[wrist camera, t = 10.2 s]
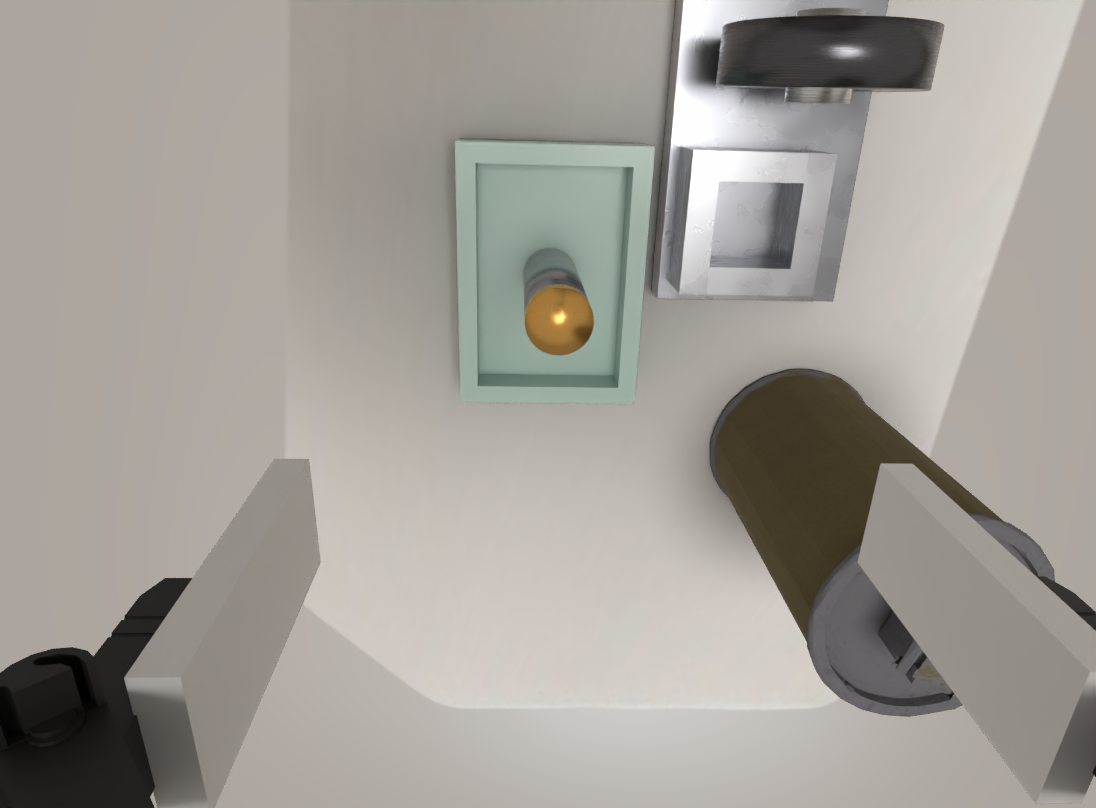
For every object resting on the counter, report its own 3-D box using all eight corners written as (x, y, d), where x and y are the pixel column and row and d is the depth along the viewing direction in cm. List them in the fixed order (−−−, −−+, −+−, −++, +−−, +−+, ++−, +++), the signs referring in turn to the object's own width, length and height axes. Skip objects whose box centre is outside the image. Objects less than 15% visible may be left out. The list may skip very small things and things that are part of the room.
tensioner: (678, -27, 36) (741, -79, 26) (874, -19, 36) (1013, -67, 26) (651, 289, 42) (694, 349, 32) (819, 292, 42) (914, 352, 32)
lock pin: (523, 247, 40) (525, 287, 30) (577, 248, 40) (595, 288, 30) (523, 300, 41) (524, 355, 31) (575, 301, 41) (592, 355, 32)
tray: (459, 138, 38) (454, 141, 35) (645, 143, 39) (655, 146, 36) (463, 383, 44) (460, 402, 41) (627, 385, 44) (634, 404, 41)
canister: (682, 488, 47) (789, 736, 29) (752, 345, 43) (926, 523, 25) (827, 533, 49) (1015, 793, 30) (906, 399, 45) (1173, 603, 27)
